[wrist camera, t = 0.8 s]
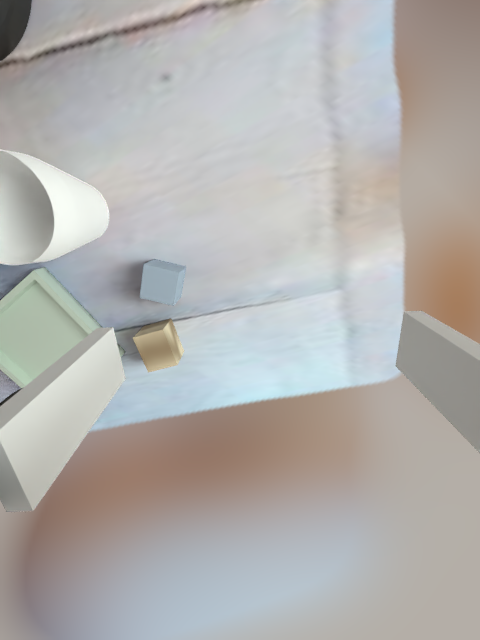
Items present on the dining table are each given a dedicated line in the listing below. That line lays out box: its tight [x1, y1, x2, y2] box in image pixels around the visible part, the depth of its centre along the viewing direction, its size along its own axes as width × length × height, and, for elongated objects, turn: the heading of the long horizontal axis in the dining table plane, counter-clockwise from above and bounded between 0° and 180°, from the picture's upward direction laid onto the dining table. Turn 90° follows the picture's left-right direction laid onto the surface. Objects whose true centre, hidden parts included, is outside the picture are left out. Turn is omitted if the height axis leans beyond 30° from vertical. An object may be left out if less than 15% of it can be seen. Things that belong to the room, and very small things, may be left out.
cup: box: [0, 149, 109, 265], centre depth 28 cm, size 9×9×12 cm
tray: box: [0, 267, 125, 388], centre depth 39 cm, size 15×15×2 cm
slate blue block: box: [140, 259, 186, 306], centre depth 34 cm, size 4×4×4 cm
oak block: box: [133, 319, 184, 372], centre depth 37 cm, size 5×4×4 cm
